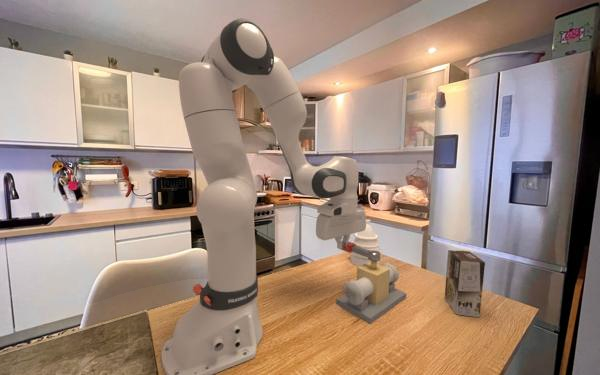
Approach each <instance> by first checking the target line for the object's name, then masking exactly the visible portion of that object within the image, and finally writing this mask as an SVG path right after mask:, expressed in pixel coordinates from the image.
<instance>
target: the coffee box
mask: <svg viewBox="0 0 600 375" xmlns="http://www.w3.org/2000/svg"><path fill="white" fill-rule="evenodd" d="M446 261H447V262H446V274H445V275H446V276H445V287H444V289H445V290H444V299H445V301H446V302H447V304H448V305H449V306H450V308H451V309H452V311H453V312H454V313H455V314H456V315H458V316H459V315H460V316H468V317H472V318H473V317H475V318H480V315H481V307H482V306H481V305H482V296H483V285H484V278H485V276H484V275H485V267H486V262H485V261H484V260H482V259H481V258H479V257H478V256H477V255H475V254H474V253H472V252H471V251H467V250H449V249H448V250H447V260H446Z"/></svg>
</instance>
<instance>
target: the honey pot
mask: <svg viewBox="0 0 600 375" xmlns="http://www.w3.org/2000/svg"><path fill="white" fill-rule="evenodd" d="M371 220H372V219H366V229H365V230H364V231H361V232H357V233H353V234H354V240H353V242H352V243H354V244H356V246H358V247H361V248H364V249H367V250H370V251H371V250H374V251H378V252H380V261H377V264H378V265H380V266H382V265H381V263H382V250H381V247H380V242H379V241H378V238H379V235H378V234H376V233H375V230H374V229H373V227H372V225H370V223H371ZM349 258H350V260H349V261H350V263H351V264H353V265H354V266H356V267H359V266H362V265H364V264H366V263H368V262H371V260H369V259H368V257H365V256H362V255H359V254H357V253H354V252H351V253H350V257H349Z"/></svg>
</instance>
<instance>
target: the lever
mask: <svg viewBox="0 0 600 375" xmlns="http://www.w3.org/2000/svg"><path fill="white" fill-rule="evenodd" d="M339 250H341V251H344V252H346V253H351V252H354V253H357V254H359V255H362V256H365V257H368V259H369V260H371V261H380V252H378V251H374V250H371V251H370V250H367V249H364V248H361V247H358V246H356V244H354V243H353V242H351V241H348V243H347V247H346V248H343V249H339Z"/></svg>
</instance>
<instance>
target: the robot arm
mask: <svg viewBox="0 0 600 375" xmlns="http://www.w3.org/2000/svg"><path fill="white" fill-rule="evenodd" d="M274 55H275V54H274V51H273V48H272V47H271V43H270V41H269V39H268V38H267V36H266V35H265V33H264V31H263V30H262V29H261V28H260V27H259V26H258V25H257V24H256V23H255V22H253V21H252V20H249V19H247V18H237V19H235V20H232V21H230V22H229V23H228V24H226V25H225V26H224V27H223V28H222V30H221V32H220V33H219V34H218V36H216V38H215V39H214V40H212V42H211V43H210V44H209V47H208V49H207V50H206V53H205V54H204V55H203V56H202V59H201V60H200V61H197V62H192V63H189V64H187V65H185V66H184V67H183V68H182V69H180V72H179V75H178V89H179V91H178V93H179V98H180V106H181V110H182V111H181V112H182V115H183V119H184V124H185V128H186V131H187V135H188V139H189V143H190V147H191V151H192V154H193V157H194V159H195V160H196V162H197V164H198V166H199V167H200V169H201V171H202V174H203V176H204V178H205V180H206V183H207V186H206V187H204V189H203V191H202V192H201V194H200V195H199V197H198V201H197V203H196V216H197V218H198V222H200V224H201V229H202V233H203V238H204V242H205V247H206V254H207V282H206V283H205V286H204V287H203V286H202V285H201V284H200V283H196V284H194V286H193V287H192V291H193V293H194V294H195V295H196V296H199V300H198V301H197V302H196V303H195V304H194V305H193V306H192V307H191V308H190V309H189V310H188V311H187V312H186V313H185V314H184V315H183V316H182V317H181V318H180V319H178V321H177V322H176V324H175V327H174V329H173V330H174V331H173V334H172V337H171V338H169V339H168V340H166V341H165V343H164V345H163V347H162V349H161V357H160V358H161V359H160V360H161V365H162V369H163V371H164V373H165V375H214V374H215V375H216V374H218V373H219V372H222V371H224V370H227V369H230V368H232V367H235V366H236V365H237V366H238V365H239V364H242V363H244V362H248V361H250V360H252V359H254V358H255V357H256V355H257V349H258V345H259V344H260V341H261V339H262V337H263V334H264V329H263V325H262V323H261V319H260V314H259V309H258V308H259V307H258V295H259V283H258V282H259V281H258V280H259V279H258V276H257V247H256V236H255V234H256V233H255V232H256V230H255V207H256V205H257V200H258V192H257V189H256V188H257V187H256V184H255V181H254V177H253V174H252V169H251V166H250V163H249V159H248V156H247V154H246V153H247V152H246V149H245V144H244V142H243V141H244V140H243V137H242V132H241V129H240V124H239V120H238V116H237V111H236V108H235V104H234V100H233V93H235V92H236V91H237V90H239V89H240V88H242V87H243V86H245V85H246V87H248V89H250V90H252V92H253V93H254V94H255V96H256V98H257V99H258V102H259V104H260V106H261V108H262V110H263V113H264V114H265V116H266V118H267V120H268V122H269V124H270V127H271V128H272V130H273V133H274V136H275V138H276V141H277V143H278V146H279V148H280V150H281V152H282V155H283V157H284V159H285V162H286V165H287V166H288V168H289V173H290V180H291V181H290V182H291V186H292V188H293V190H294V191H295V192H296V193H297V194H299V195H301V196H307V197H312V198H317V199H322V200H324V199H329V200H327V201H326V202H324V203H322V204H321V205H318V206H317V209H316V210H317V211H316V212H317V214H318V216H317V218H316V221H315V235H316V237H317V238H318V240H322V241H329V240H332V239H334V240H335V242H336V248H337V249H339V250H340V249H343V248H346V247H347V243H348V242H349V240H350V239H351V235H352V234H355V233H357V232H361V231H364V230H365V229H366V220H367V216H366V212H365V207H364V205H363V204H362V203H359V204H358V201H359V200H358V199H359V198H358V194H357V192H358V186H359V164H358V162H357V160H356V159H355V158H353V157H351V156H349V155H348V156H347V155H334V156H333V157H332V159H330V160H329V161H327V162H325V163H323V164H321V165H319V166H314V165H312V164H311V163H310V162H308V160H307V158H306V156H305V152H304V150H303V148H302V145H301V142H300V139H299V136H300V132H301V129H302V128H303V126H304V124H305V122H306V120H307V116H308V111H307V110H308V109H307V106H306V103H305V99H304V98H303V96H302V95H303V94H302V93H301V91H300V88H299V87H298V84H297V82H296V80H295V79H294V77H293V75H292V74H291V72H290V70H289V69H288V67H287V66H286V65H285V63H284V61H283V60H282V59H281V58H279V57H278V56H274Z"/></svg>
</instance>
